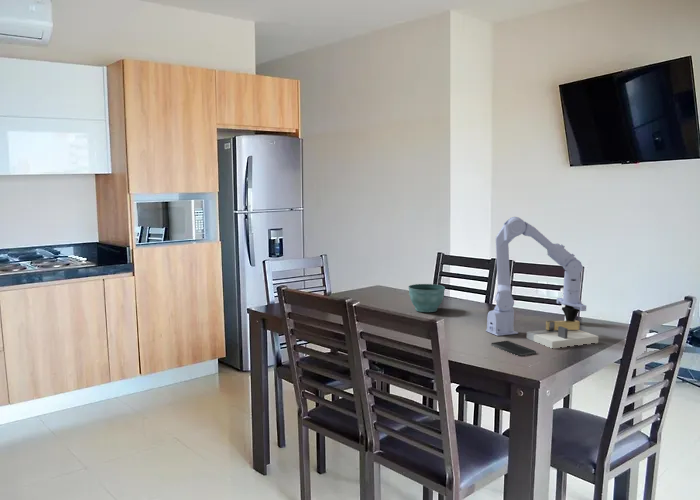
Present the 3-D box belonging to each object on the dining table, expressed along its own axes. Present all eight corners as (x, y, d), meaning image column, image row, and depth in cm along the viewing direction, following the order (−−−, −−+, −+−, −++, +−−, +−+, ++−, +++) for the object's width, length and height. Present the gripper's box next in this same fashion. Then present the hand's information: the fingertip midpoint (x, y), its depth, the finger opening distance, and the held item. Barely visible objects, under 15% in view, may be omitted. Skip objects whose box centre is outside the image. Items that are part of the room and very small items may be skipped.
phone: (519, 354, 188) (490, 342, 201) (519, 357, 188) (489, 346, 201) (537, 351, 191) (507, 340, 205) (537, 354, 191) (507, 343, 205)
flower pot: (413, 305, 266) (413, 282, 265) (448, 308, 261) (448, 284, 259) (403, 312, 252) (404, 288, 250) (440, 316, 246) (440, 291, 244)
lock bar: (548, 331, 209) (548, 322, 209) (545, 329, 212) (545, 320, 212) (579, 330, 210) (580, 321, 210) (576, 328, 213) (576, 320, 213)
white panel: (552, 348, 197) (552, 331, 196) (526, 338, 210) (527, 322, 209) (598, 343, 204) (599, 326, 203) (570, 333, 217) (571, 317, 216)
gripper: (594, 293, 206) (592, 330, 207) (568, 286, 220) (566, 320, 221) (577, 294, 204) (575, 331, 206) (552, 287, 218) (551, 322, 219)
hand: (570, 326), depth 213 cm, fingers closed, pressing on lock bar
